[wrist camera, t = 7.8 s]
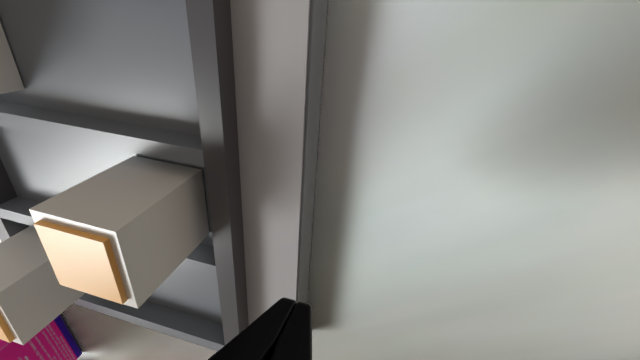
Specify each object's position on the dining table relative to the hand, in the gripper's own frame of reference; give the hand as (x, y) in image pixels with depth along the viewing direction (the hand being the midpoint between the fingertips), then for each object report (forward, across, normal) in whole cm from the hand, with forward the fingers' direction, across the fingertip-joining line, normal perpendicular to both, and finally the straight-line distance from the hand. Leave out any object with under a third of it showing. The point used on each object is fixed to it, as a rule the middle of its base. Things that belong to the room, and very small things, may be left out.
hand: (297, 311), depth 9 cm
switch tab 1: (+4, +14, +5) cm, 15 cm away
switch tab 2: (+4, +7, 0) cm, 8 cm away
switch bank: (+5, +10, 0) cm, 11 cm away
